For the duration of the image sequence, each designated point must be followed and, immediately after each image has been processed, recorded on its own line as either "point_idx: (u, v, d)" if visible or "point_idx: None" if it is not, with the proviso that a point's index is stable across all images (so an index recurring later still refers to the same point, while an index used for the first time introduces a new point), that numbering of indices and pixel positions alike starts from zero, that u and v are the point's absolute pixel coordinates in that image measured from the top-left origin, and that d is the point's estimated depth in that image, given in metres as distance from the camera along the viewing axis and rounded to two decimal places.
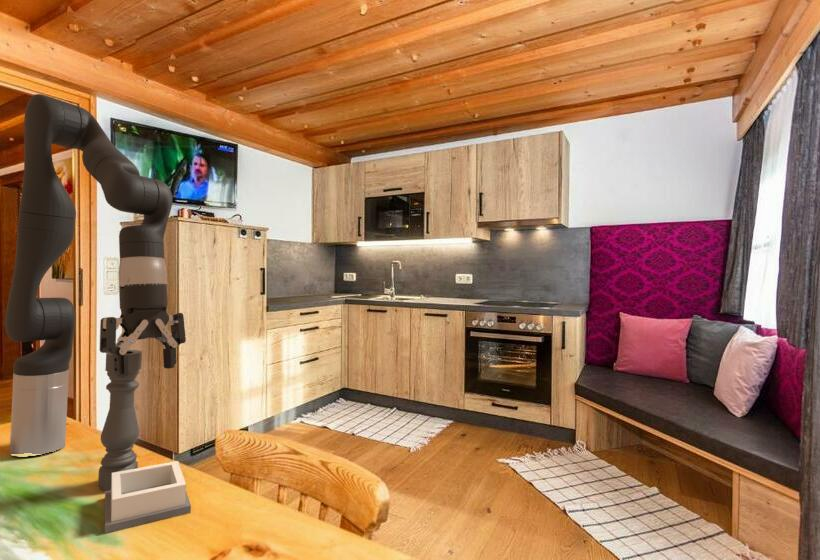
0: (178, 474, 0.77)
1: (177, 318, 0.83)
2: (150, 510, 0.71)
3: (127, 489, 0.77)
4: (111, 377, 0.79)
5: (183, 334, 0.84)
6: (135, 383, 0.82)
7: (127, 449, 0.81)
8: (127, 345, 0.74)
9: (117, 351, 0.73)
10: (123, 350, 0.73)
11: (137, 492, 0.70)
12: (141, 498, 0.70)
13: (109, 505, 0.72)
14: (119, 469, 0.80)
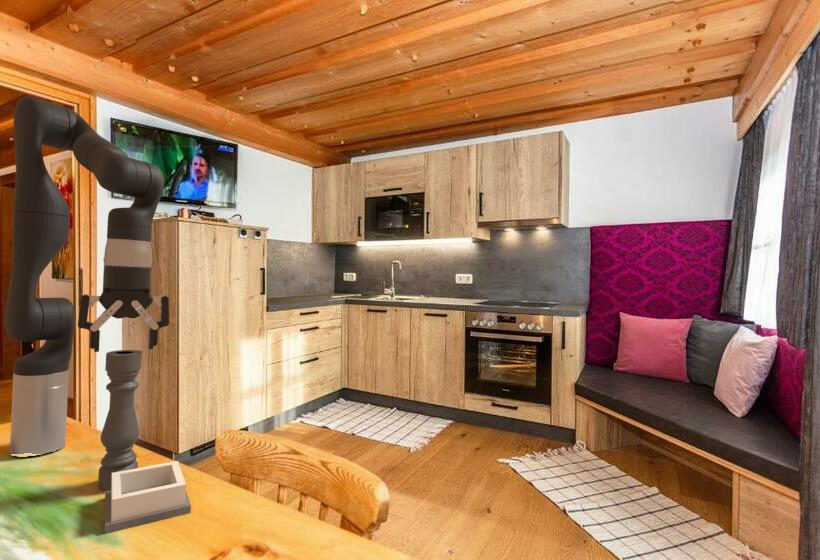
0: (178, 474, 0.77)
1: (161, 301, 0.84)
2: (150, 510, 0.71)
3: (127, 489, 0.77)
4: (111, 377, 0.79)
5: (166, 317, 0.84)
6: (135, 383, 0.82)
7: (127, 449, 0.81)
8: (100, 323, 0.78)
9: (89, 327, 0.78)
10: (94, 327, 0.78)
11: (137, 492, 0.70)
12: (141, 498, 0.70)
13: (109, 505, 0.72)
14: (119, 469, 0.80)
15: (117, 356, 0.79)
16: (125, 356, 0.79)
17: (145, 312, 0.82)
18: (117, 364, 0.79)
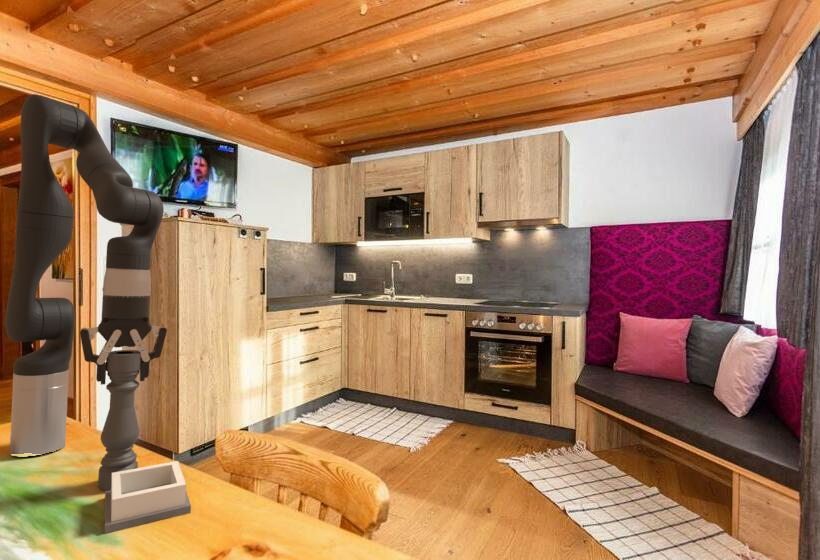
0: (178, 474, 0.77)
1: (159, 332, 0.84)
2: (150, 510, 0.71)
3: (127, 489, 0.77)
4: (111, 377, 0.79)
5: (159, 349, 0.84)
6: (135, 383, 0.82)
7: (127, 449, 0.81)
8: (105, 355, 0.79)
9: (96, 360, 0.78)
10: (100, 360, 0.78)
11: (137, 492, 0.70)
12: (141, 498, 0.70)
13: (109, 505, 0.72)
14: (119, 469, 0.80)
15: (117, 356, 0.79)
16: (125, 356, 0.79)
17: (141, 342, 0.81)
18: (118, 364, 0.79)
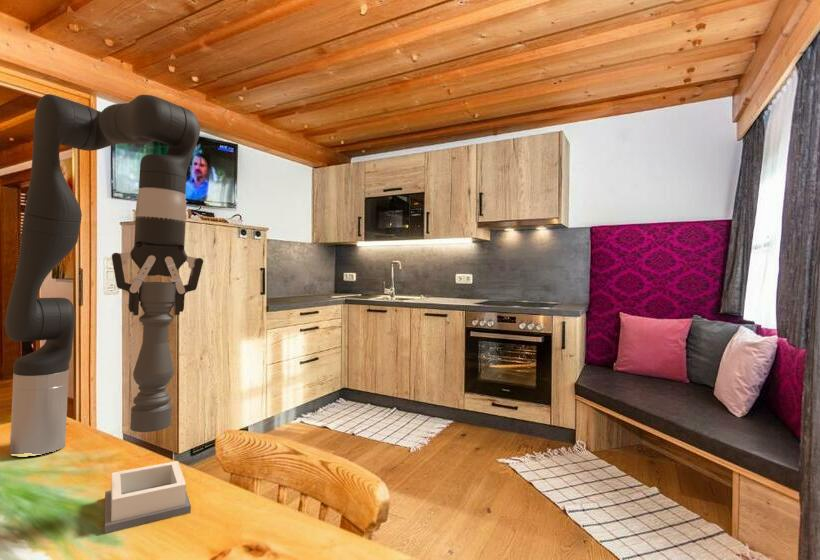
0: (178, 474, 0.77)
1: (195, 262, 0.77)
2: (150, 510, 0.71)
3: (127, 489, 0.77)
4: (145, 307, 0.72)
5: (195, 281, 0.77)
6: (170, 316, 0.75)
7: (162, 387, 0.74)
8: (138, 283, 0.72)
9: (129, 288, 0.71)
10: (133, 288, 0.71)
11: (137, 492, 0.70)
12: (141, 498, 0.70)
13: (109, 505, 0.72)
14: (153, 408, 0.73)
15: (152, 284, 0.72)
16: (160, 284, 0.72)
17: (176, 272, 0.75)
18: (152, 293, 0.72)
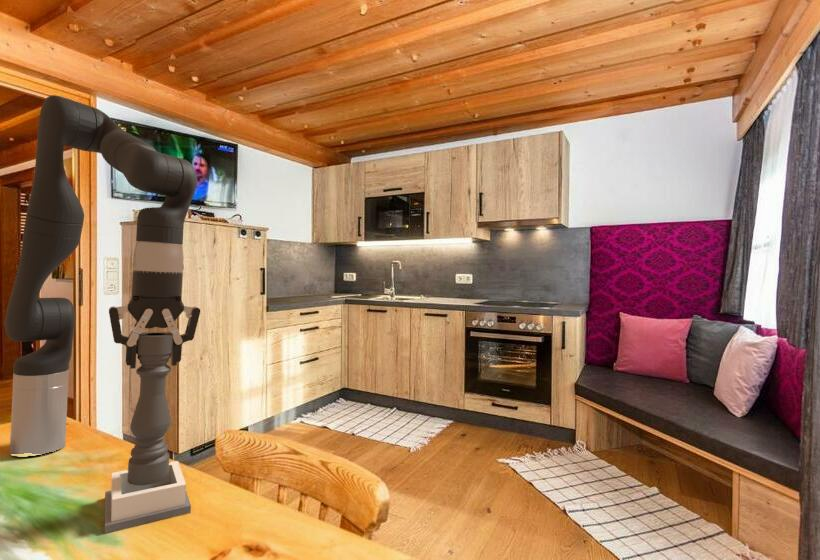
0: (178, 474, 0.77)
1: (192, 312, 0.77)
2: (150, 510, 0.71)
3: (127, 489, 0.77)
4: (142, 360, 0.73)
5: (193, 331, 0.77)
6: (167, 367, 0.75)
7: (159, 439, 0.74)
8: (135, 336, 0.72)
9: (126, 342, 0.72)
10: (130, 342, 0.72)
11: (137, 492, 0.70)
12: (141, 498, 0.70)
13: (109, 505, 0.72)
14: (151, 461, 0.73)
15: (149, 337, 0.72)
16: (157, 337, 0.72)
17: (173, 323, 0.75)
18: (149, 346, 0.72)
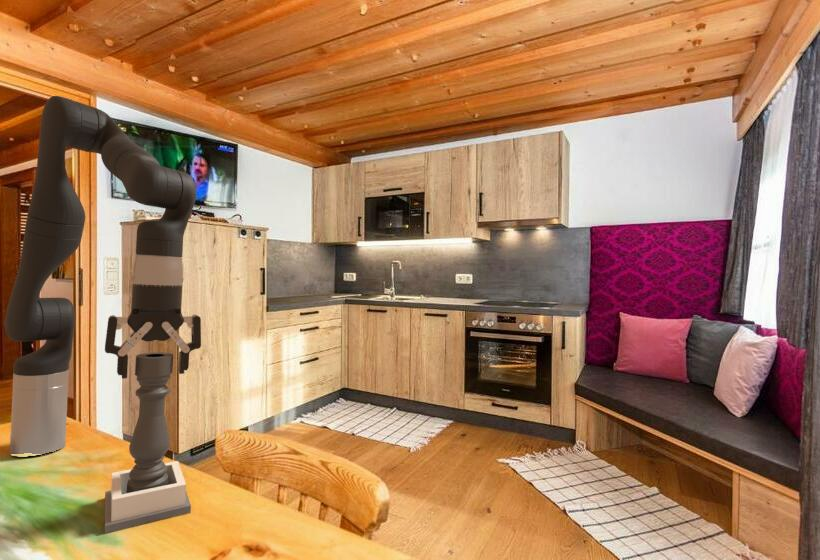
0: (178, 474, 0.77)
1: (193, 321, 0.77)
2: (150, 510, 0.71)
3: None
4: (141, 382, 0.73)
5: (198, 339, 0.78)
6: (166, 388, 0.75)
7: (158, 460, 0.74)
8: (128, 347, 0.71)
9: (117, 352, 0.71)
10: (122, 352, 0.71)
11: (137, 492, 0.70)
12: (141, 498, 0.70)
13: (109, 505, 0.72)
14: (149, 482, 0.73)
15: (148, 359, 0.72)
16: (157, 359, 0.73)
17: (176, 334, 0.75)
18: (148, 368, 0.72)
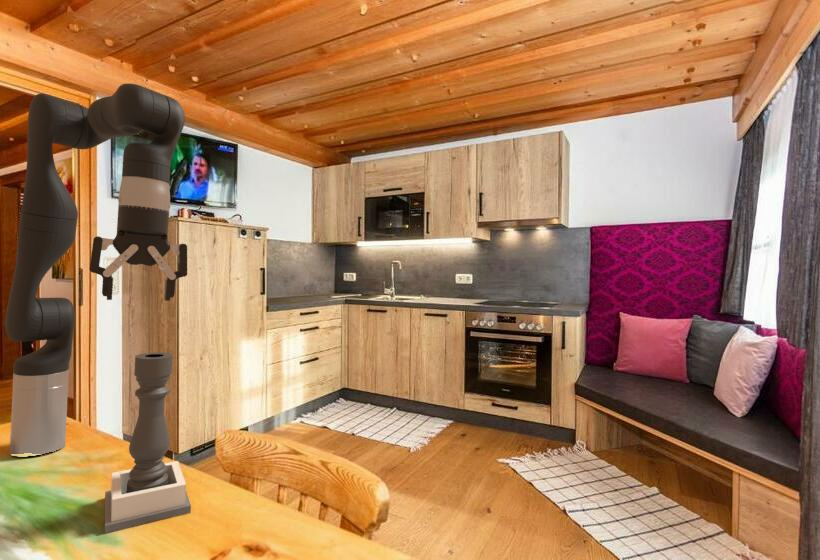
0: (178, 474, 0.77)
1: (179, 249, 0.77)
2: (150, 510, 0.71)
3: None
4: (141, 382, 0.73)
5: (185, 267, 0.78)
6: (166, 389, 0.75)
7: (157, 461, 0.74)
8: (113, 268, 0.71)
9: (102, 272, 0.71)
10: (107, 272, 0.71)
11: (137, 492, 0.70)
12: (141, 498, 0.70)
13: (109, 505, 0.72)
14: (149, 483, 0.73)
15: (148, 360, 0.72)
16: (156, 360, 0.72)
17: (162, 259, 0.75)
18: (148, 369, 0.72)
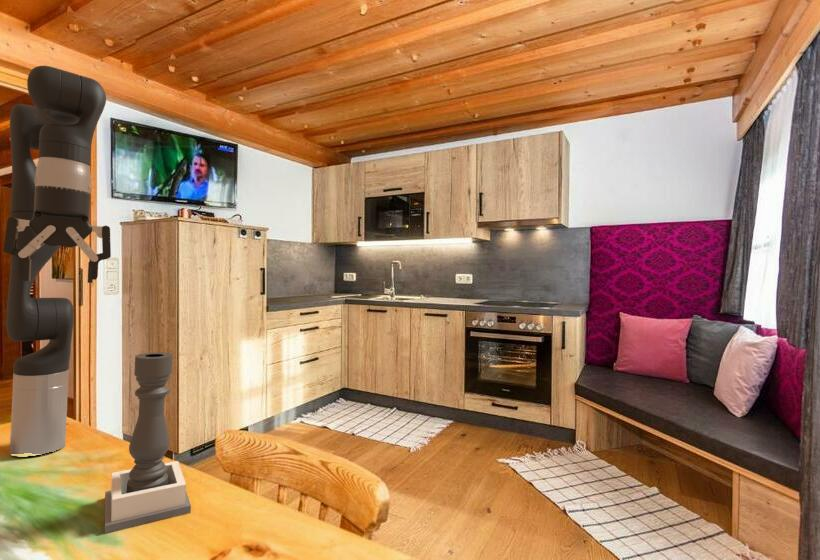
0: (178, 474, 0.77)
1: (102, 231, 0.77)
2: (150, 510, 0.71)
3: None
4: (141, 382, 0.73)
5: (108, 249, 0.77)
6: (166, 389, 0.75)
7: (157, 461, 0.74)
8: (30, 249, 0.71)
9: (18, 253, 0.71)
10: (23, 253, 0.71)
11: (137, 492, 0.70)
12: (141, 498, 0.70)
13: (109, 505, 0.72)
14: (149, 483, 0.73)
15: (148, 359, 0.72)
16: (156, 359, 0.73)
17: (82, 241, 0.75)
18: (148, 368, 0.72)
